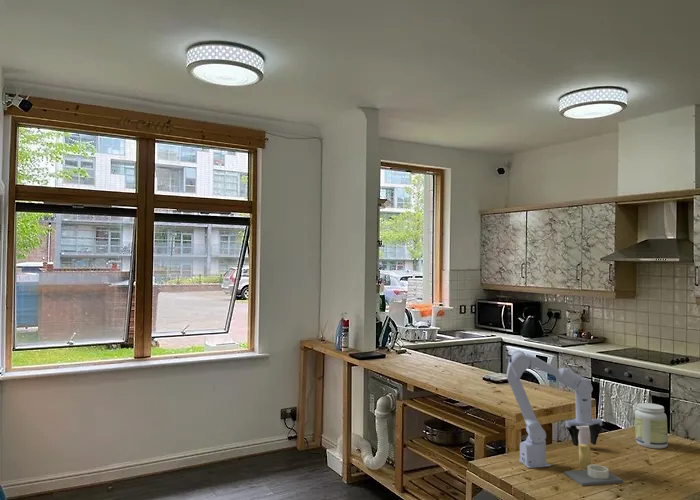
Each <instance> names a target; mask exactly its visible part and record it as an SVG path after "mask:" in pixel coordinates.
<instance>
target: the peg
mask: <svg viewBox="0 0 700 500" xmlns="http://www.w3.org/2000/svg"><path fill="white" fill-rule="evenodd" d="M578 463H579V464H578V465H579V466H578V467H580V468H581V469H587V466H588V465H592V464H591V445H590V444H589V445H586V444H579V443H578Z"/></svg>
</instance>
